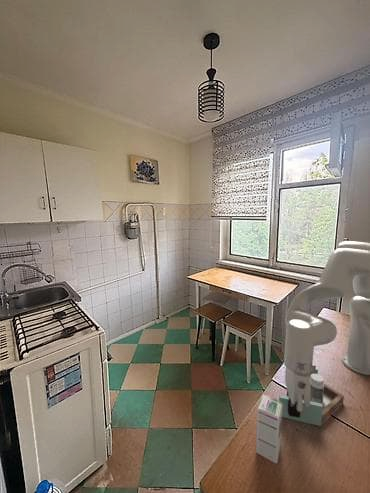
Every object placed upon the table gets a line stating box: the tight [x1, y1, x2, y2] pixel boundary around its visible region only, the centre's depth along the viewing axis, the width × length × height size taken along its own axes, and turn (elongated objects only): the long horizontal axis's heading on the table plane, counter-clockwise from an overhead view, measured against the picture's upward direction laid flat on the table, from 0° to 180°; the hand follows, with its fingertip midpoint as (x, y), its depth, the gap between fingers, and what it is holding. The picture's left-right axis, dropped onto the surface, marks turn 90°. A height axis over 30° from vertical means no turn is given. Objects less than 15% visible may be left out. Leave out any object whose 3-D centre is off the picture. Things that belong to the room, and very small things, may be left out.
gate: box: [278, 394, 323, 427], centre depth 70 cm, size 12×1×7 cm, turn 73°
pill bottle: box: [310, 373, 325, 403], centre depth 78 cm, size 5×5×8 cm
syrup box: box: [255, 394, 283, 464], centre depth 61 cm, size 6×6×14 cm
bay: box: [286, 375, 345, 425], centre depth 78 cm, size 14×12×3 cm
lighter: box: [310, 363, 319, 375], centre depth 90 cm, size 7×2×8 cm, turn 46°
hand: (293, 414), depth 68 cm, fingers closed
